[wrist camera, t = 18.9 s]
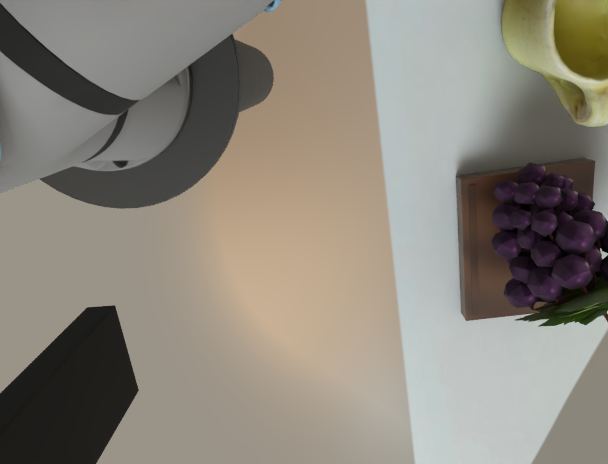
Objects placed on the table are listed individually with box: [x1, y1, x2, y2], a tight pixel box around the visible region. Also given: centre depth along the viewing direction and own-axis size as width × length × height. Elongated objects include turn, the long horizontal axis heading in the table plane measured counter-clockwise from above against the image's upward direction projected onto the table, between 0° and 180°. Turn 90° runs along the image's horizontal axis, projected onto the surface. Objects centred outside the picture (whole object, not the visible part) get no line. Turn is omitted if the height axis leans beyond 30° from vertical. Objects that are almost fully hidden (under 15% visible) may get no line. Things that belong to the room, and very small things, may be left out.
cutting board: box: [456, 158, 595, 321], centre depth 40 cm, size 14×11×2 cm
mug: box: [501, 0, 608, 127], centre depth 31 cm, size 12×10×10 cm
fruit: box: [492, 163, 608, 326], centre depth 34 cm, size 10×11×15 cm
